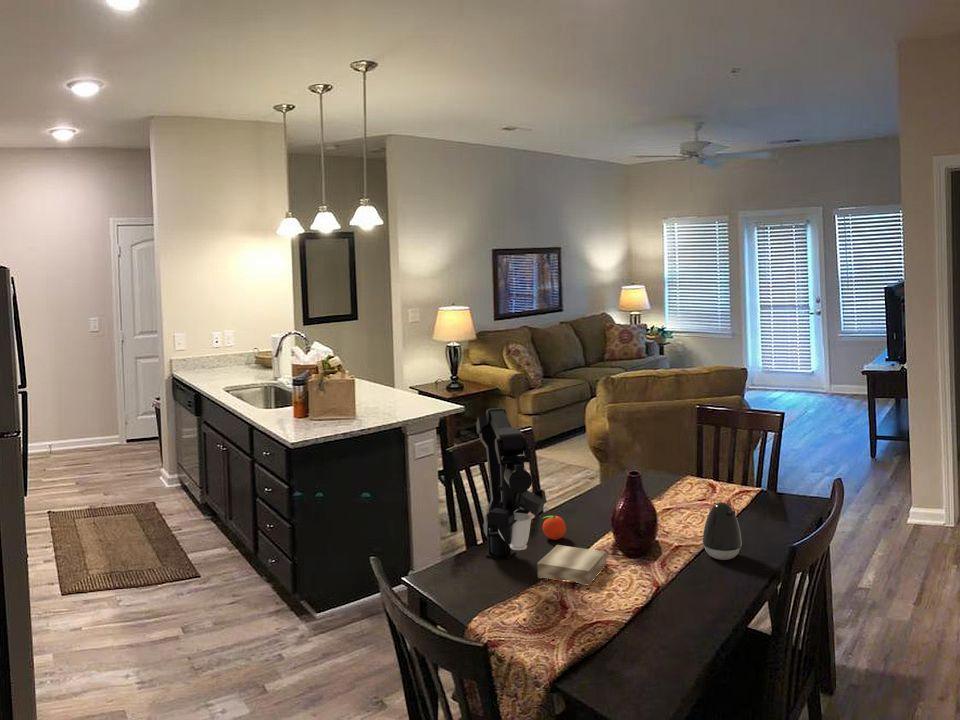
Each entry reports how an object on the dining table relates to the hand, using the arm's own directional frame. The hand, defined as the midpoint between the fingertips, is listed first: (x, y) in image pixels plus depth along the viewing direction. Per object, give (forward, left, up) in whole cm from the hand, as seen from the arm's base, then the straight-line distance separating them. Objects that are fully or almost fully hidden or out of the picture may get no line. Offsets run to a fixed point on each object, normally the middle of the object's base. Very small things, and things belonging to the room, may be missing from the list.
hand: (513, 540), depth 204 cm
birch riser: (+12, +11, -11) cm, 19 cm away
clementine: (-2, +32, -11) cm, 34 cm away
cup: (0, 0, -2) cm, 2 cm away
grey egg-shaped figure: (+46, +36, -11) cm, 59 cm away
